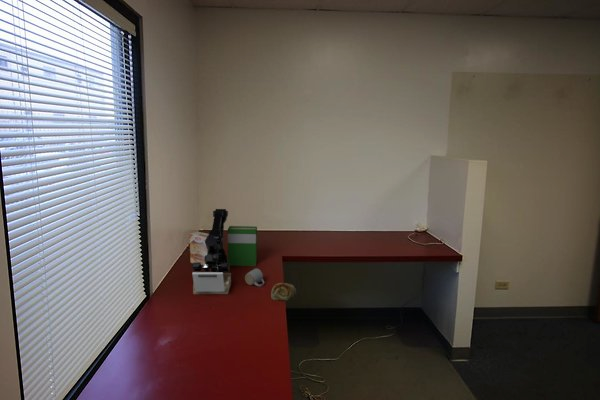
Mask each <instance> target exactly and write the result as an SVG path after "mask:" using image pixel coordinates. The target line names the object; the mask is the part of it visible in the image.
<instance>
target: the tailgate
mask: <svg viewBox="0 0 600 400" xmlns="http://www.w3.org/2000/svg"><path fill="white" fill-rule="evenodd" d="M191 275H192V280H193V284H194V287H195V292H204V291H225V287H224V278H223V272H211V271H210V272H204V271H202V272H201V271H192V274H191Z"/></svg>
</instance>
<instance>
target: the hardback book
mask: <svg viewBox="0 0 600 400" xmlns="http://www.w3.org/2000/svg"><path fill="white" fill-rule="evenodd" d="M227 263H228V264H229V267H230V266H231V267H232V266H235V267H236V266H238V267H241V266H242V267H245V266H246V267H247V266H248V267H256V266H257V263H258V226H253V225H252V226H248V225H247V226H245V225H244V226H242V225H229V226H228V228H227Z"/></svg>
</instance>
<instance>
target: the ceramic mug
mask: <svg viewBox="0 0 600 400" xmlns="http://www.w3.org/2000/svg"><path fill="white" fill-rule="evenodd" d="M244 280H245V281H244V282H245V283H246V284H247V285H248V286H257V287H259V288H261V287H263V286H264V285H265V281H264V274H263V272H262V270H260V269H259V268H254V269H252V270H250V271H249V272H247V273H246V274H245V275H244ZM260 282H262V284H259V283H260Z"/></svg>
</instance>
